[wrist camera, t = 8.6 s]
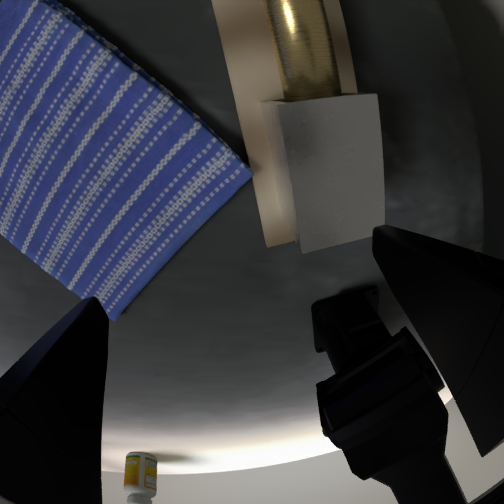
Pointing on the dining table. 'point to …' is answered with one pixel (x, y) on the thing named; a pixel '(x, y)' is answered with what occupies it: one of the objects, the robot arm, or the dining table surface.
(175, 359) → the dining table surface
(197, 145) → the dish towel
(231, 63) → the mounting board
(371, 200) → the sleeve
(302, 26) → the tube
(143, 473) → the supplement bottle
